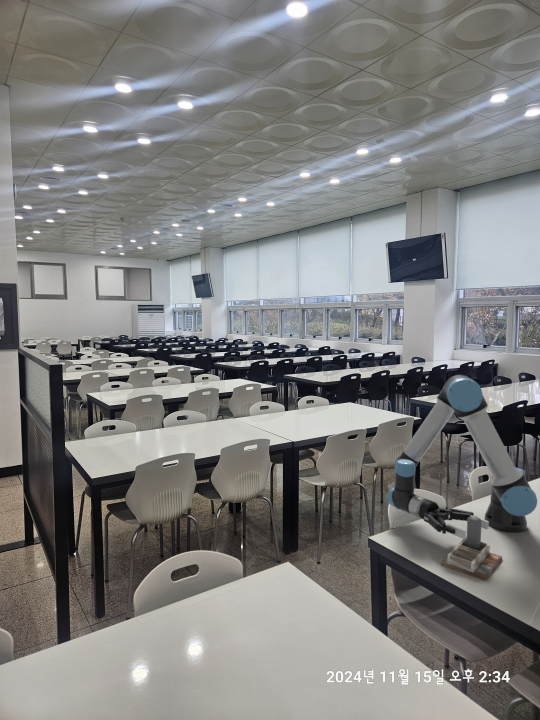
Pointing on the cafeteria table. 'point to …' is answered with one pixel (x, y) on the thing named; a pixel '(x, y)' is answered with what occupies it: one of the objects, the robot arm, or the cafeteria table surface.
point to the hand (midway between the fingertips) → (476, 530)
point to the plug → (474, 532)
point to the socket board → (472, 560)
